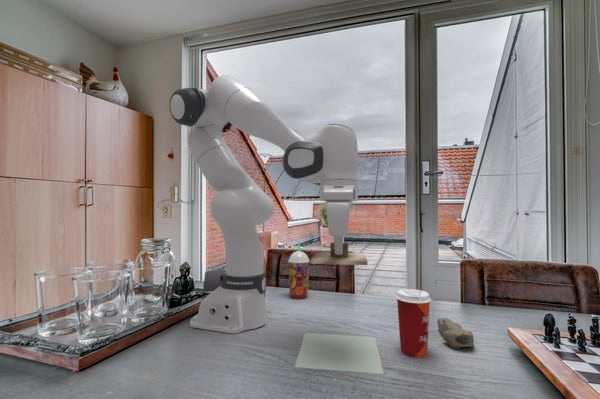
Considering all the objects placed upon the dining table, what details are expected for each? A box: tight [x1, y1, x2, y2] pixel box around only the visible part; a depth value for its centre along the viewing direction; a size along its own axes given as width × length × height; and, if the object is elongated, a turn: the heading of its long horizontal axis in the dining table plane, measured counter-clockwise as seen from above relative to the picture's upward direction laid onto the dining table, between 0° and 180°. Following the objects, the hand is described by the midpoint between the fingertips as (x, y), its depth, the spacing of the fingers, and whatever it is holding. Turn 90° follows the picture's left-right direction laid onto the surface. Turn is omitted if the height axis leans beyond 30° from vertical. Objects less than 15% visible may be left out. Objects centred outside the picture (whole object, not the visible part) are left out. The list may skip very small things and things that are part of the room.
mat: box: [294, 332, 384, 375], centre depth 72 cm, size 18×18×1 cm
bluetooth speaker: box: [202, 269, 267, 294], centre depth 120 cm, size 23×9×10 cm, turn 94°
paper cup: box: [395, 288, 432, 359], centre depth 72 cm, size 8×8×14 cm
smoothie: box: [287, 243, 311, 300], centre depth 118 cm, size 8×8×20 cm
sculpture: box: [436, 317, 475, 349], centre depth 80 cm, size 7×5×15 cm
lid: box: [310, 242, 368, 266], centre depth 73 cm, size 12×12×4 cm
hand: (338, 252), depth 73 cm, fingers closed on lid, 3 cm apart
